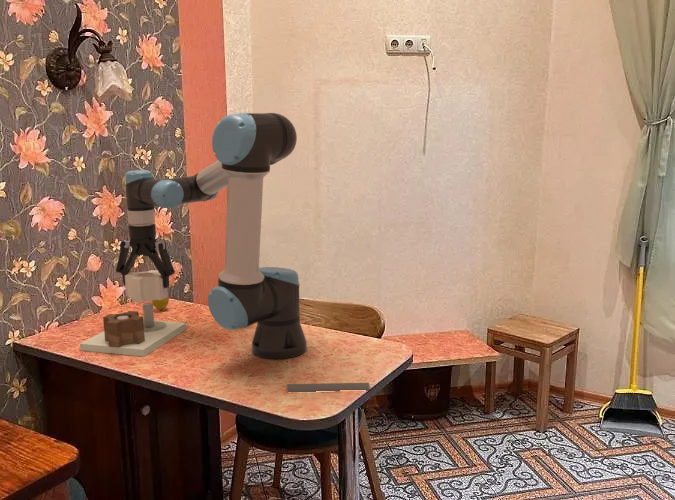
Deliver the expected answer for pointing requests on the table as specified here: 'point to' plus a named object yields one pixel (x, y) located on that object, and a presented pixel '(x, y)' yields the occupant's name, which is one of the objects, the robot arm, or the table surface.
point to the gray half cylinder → (327, 387)
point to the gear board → (153, 333)
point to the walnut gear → (124, 329)
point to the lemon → (161, 303)
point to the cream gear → (144, 286)
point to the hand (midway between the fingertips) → (146, 296)
